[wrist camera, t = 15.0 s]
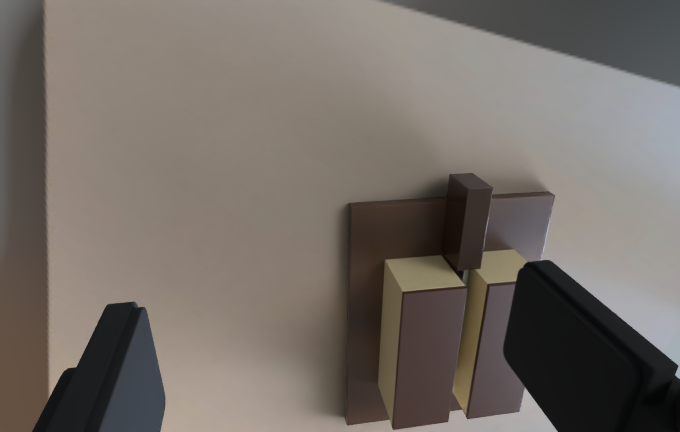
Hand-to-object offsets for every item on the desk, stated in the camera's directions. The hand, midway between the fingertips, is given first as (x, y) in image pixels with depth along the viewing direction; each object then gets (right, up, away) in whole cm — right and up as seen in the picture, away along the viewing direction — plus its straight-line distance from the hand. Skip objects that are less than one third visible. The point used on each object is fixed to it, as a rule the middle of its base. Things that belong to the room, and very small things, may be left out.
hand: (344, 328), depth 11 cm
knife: (+10, -1, +28) cm, 30 cm away
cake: (+9, -6, +32) cm, 34 cm away
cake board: (+9, -6, +32) cm, 34 cm away
